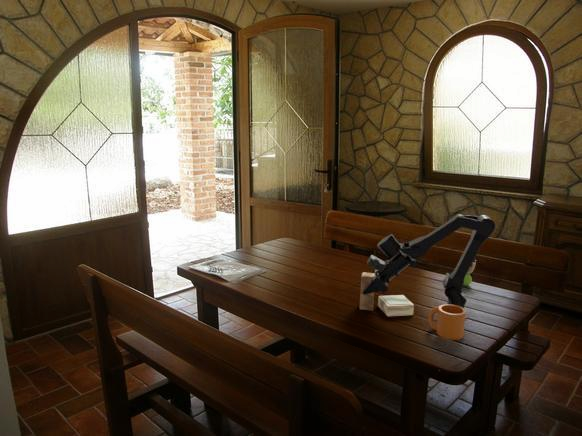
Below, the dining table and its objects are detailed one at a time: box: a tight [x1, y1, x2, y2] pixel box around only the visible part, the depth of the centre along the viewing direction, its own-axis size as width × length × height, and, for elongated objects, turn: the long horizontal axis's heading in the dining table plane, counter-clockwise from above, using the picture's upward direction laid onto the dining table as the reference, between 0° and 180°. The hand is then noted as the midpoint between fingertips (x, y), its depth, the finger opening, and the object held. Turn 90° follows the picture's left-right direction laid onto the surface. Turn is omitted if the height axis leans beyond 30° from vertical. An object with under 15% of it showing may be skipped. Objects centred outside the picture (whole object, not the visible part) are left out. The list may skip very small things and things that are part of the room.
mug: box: [427, 303, 467, 341], centre depth 161 cm, size 9×12×9 cm
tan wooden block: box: [359, 271, 375, 312], centre depth 180 cm, size 5×5×13 cm
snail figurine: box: [463, 259, 477, 287], centre depth 207 cm, size 5×6×12 cm
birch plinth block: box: [377, 294, 415, 317], centre depth 179 cm, size 10×10×4 cm
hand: (363, 290), depth 181 cm, fingers open, 5 cm apart
